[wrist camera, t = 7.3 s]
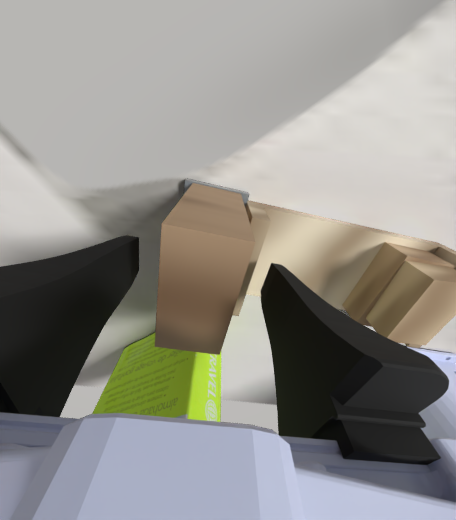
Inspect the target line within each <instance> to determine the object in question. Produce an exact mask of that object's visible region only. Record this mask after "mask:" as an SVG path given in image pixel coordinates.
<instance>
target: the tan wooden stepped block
mask: <svg viewBox="0 0 456 520" xmlns="http://www.w3.org/2000/svg"><path fill="white" fill-rule="evenodd" d="M246 212H247V215H248V219H249V222H250V225H251V229H252V232H253V235H254V238H255V242H256V243H255V246H254V249H253V252H252V255H251V258H250V261H249V264H248V268H247V271H246V274H245V277H244V280H243V283H242V286H241V289H240V292H239V296H238V299H237V302H236V305H235V308H234V311H233V314H232V315H235V316H239V313H240V310H241V307H242V304H243V301H244V298H245V296H246V294H248V295H254V296H260V297H261V289H262V286H263V283H264V281H265V278H266V276H267V273H268V270H269V268H270V265H271V263H275V264H280V265H283V266H284V267H286V268H287V269H288V270H289V271H290V272H291V273H293V274H294V275H295V276H296V277H297V278H298V279H299V280H300V281H302V282H303V283H304V284H305V285H306V286H307V287H308V288H310V289H311V290H312V291H313V292H314V293H316V294H317V295H318V296H320V297H321V298H322V299H323V300H325V301H326V302H327V303H329V304H330V305H332V306H333V307H335V308H336V309H339V310H345V309H344V307H343V306H342V305H343V303H344V302H345V300H346V299H347V297H348V296H349V294H350V293H351V291H352V290H353V288H354V287H355V285H356V284H357V283H358V281H359V280H360V278H361V277H362V275H363V274H364V272H365V271H366V269H367V268H368V266H369V265H370V263H371V262H372V260H373V259H374V257H375V256H376V255H377V253H378V252H379V250H380V249H381V247H382V246H383V244H384V243H385V242H387V243H392V244H397V245H401V246H406V247H410V248H415V249H420V250H424V251H429V252H430V253H432V254H434V255H436V256H438V257H440V258H441V259H443V260H445V261H447V262H449V263H451V264H453V265H454V266H456V251H454V250H452V249H450V248H448V247H446V246H444V245H441V244H439V243H436V242H432V241H427V240H423V239H418V238H414V237H409V236H405V235H400V234H396V233H391V232H387V231H382V230H378V229H373V228H369V227H364V226H360V225H356V224H351V223H347V222H342V221H338V220H333V219H329V218H324V217H320V216H315V215H311V214H306V213H302V212H297V211H293V210H289V209H284V208H280V207H275V206H271V205H266V204H262V203H257V202H253V201H247V205H246ZM454 270H456V267H455V268H454ZM345 311H346V310H345ZM405 344H406V346H407V347H414V348H420V347H421V346H422V345H418V344H407V343H405Z"/></svg>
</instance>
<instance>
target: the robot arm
mask: <svg viewBox="0 0 456 520" xmlns="http://www.w3.org/2000/svg"><path fill="white" fill-rule="evenodd" d="M138 271H139V238H138V237H132V236H127V235H126V236H122V237H118V238H115V239H112V240H109V241H106V242H104V243H101V244H98V245H95V246H92V247H89V248H85V249H82V250H79V251H75V252H72V253H69V254H65V255H61V256H57V257H53V258H48V259H43V260H39V261H34V262H27V263H21V264H15V265H9V266H3V267H0V520H456V364H455V363H456V354H452V353H445V352H439V351H432V350H425V349H418V348H411V347H406V346H403V345H401V344H399V343H397V342H394V341H392V340H390V339H388V338H386V337H384V336H382V335H380V334H378V333H376V332H374V331H373V330H371V329H369V328H367V327H365V326H363V325H362V324H360V323H358V322H357V321H355V320H353V319H352V318H350V317H348V316H347V315H345V314H343V313H342V312H340V311H339V310H337V309H336V308H335V307H333V306H332V305H330V304H329V303H327V302H326V301H325V300H323V299H322V298H321V297H320V296H318V295H317V294H316V293H314V292H313V291H312V290H311V289H310V288H308V287H307V286H306V285H305V284H304V283H303V282H302V281H300V280H299V279H298V278H297V277H296V276H295V275H294V274H293V273H291V272H290V271H289V270H288V269H287V268H286V267H284V266H283V265H280V264H275V263H271V265H270V268H269V270H268V273H267V276H266V278H265V281H264V283H263V286H262V289H261V304H262V310H263V314H264V319H265V323H266V327H267V331H268V336H269V340H270V344H271V350H272V357H273V365H274V375H275V385H276V397H277V410H278V431H279V435H278V434H277V433H276V432H274V431H273V430H272V429H267V428H262V427H258V426H254V425H249V424H238V423H226V422H216V421H205V420H193V419H182V418H171V417H160V416H149V415H137V414H126V413H104V414H90V415H88V416H85V417H83V418H80V419H73V418H61V417H60V415H61V412H62V410H63V408H64V406H65V403H66V401H67V399H68V397H69V394H70V392H71V390H72V388H73V386H74V384H75V382H76V380H77V378H78V375H79V373H80V371H81V369H82V367H83V365H84V363H85V361H86V359H87V357H88V355H89V353H90V351H91V349H92V347H93V345H94V344H95V342H96V340H97V338H98V336H99V334H100V332H101V331H102V329H103V327H104V325H105V324H106V322H107V321H108V319H109V318H110V316H111V315H112V313H113V312H114V310H115V309H116V307H117V306H118V305H119V303H120V302H121V300H122V299H123V297H124V296H125V294H126V293H127V291H128V290H129V288H130V287H131V285H132V284H133V282H134V280H135V277H136V275H137V273H138Z"/></svg>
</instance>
